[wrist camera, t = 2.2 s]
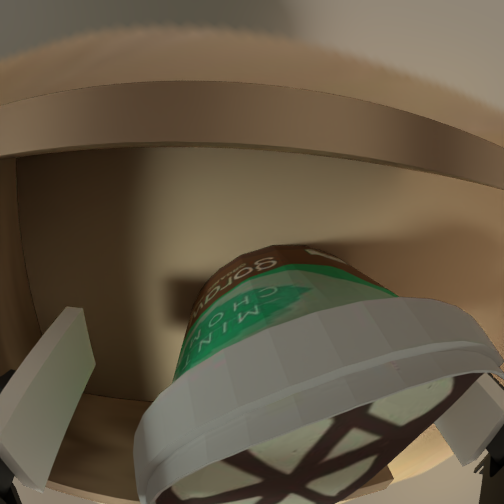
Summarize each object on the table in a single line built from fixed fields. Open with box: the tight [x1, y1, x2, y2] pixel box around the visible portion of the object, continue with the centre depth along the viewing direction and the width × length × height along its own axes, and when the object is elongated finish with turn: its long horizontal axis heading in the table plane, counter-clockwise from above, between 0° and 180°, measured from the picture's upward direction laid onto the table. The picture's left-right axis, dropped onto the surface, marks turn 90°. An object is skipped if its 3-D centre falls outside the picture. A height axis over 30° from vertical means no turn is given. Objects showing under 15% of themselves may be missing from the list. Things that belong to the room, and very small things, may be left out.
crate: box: [0, 81, 504, 504], centre depth 11 cm, size 20×16×7 cm
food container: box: [133, 245, 504, 504], centre depth 10 cm, size 12×6×10 cm, turn 139°
